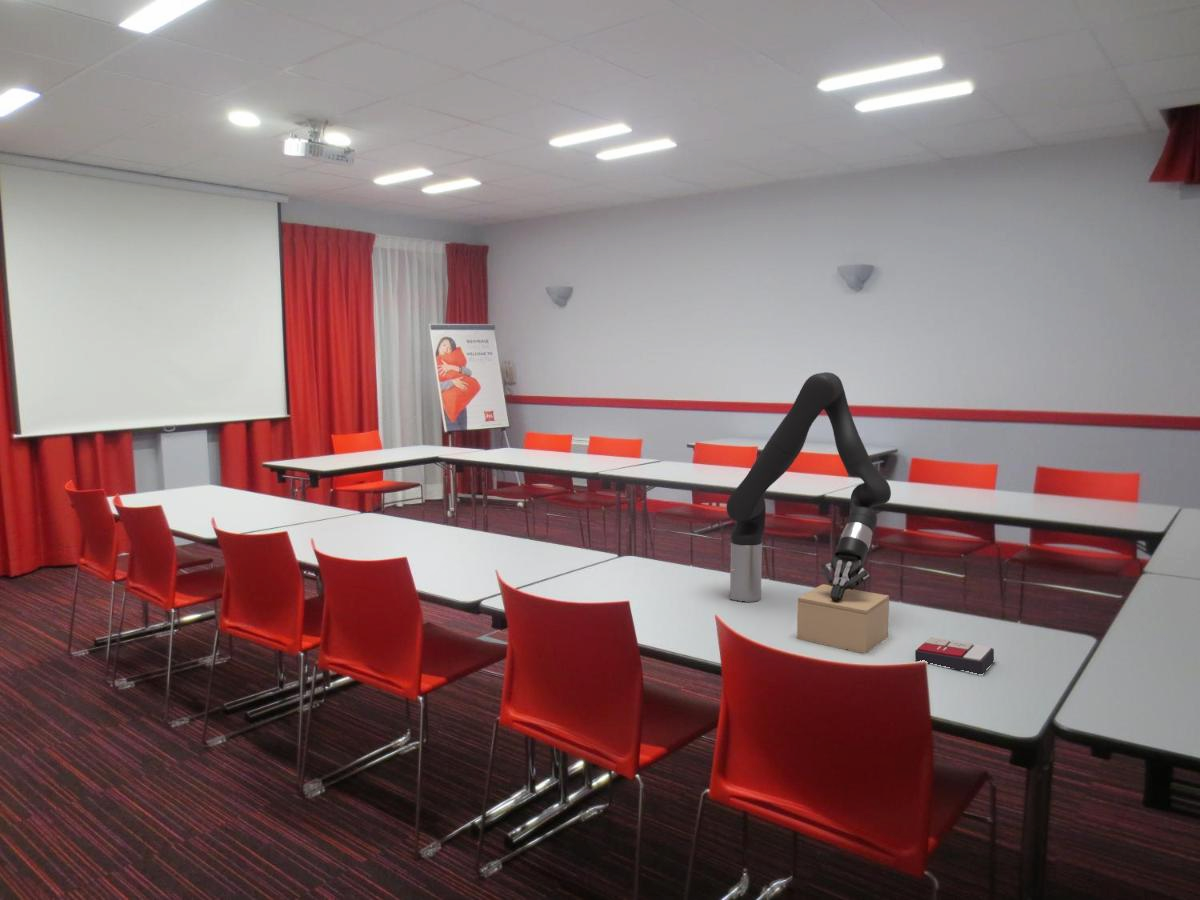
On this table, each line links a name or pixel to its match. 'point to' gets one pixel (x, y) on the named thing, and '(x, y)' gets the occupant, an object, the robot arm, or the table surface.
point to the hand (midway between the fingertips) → (834, 600)
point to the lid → (845, 599)
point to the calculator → (956, 655)
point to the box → (842, 626)
